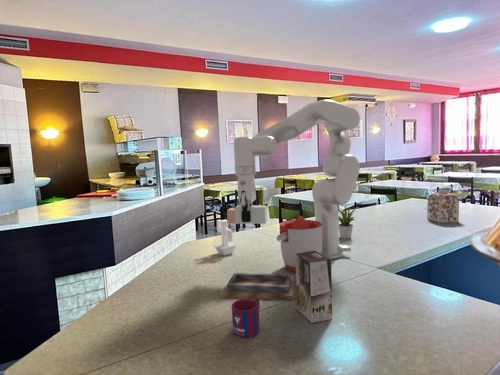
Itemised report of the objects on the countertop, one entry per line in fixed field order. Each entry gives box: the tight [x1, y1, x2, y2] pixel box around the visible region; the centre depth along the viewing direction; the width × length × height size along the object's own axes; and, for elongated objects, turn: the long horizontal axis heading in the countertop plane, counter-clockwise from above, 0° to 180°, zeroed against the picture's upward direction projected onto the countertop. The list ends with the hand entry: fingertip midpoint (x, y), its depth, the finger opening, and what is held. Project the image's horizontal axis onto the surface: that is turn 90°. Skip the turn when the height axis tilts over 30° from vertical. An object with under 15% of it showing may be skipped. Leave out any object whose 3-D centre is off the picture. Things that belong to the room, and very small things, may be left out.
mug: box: [231, 298, 261, 339], centre depth 85 cm, size 7×10×7 cm
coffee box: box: [295, 251, 333, 324], centre depth 90 cm, size 9×6×16 cm
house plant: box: [337, 205, 360, 239], centre depth 167 cm, size 14×14×16 cm
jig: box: [221, 272, 296, 301], centre depth 109 cm, size 22×14×3 cm, turn 80°
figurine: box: [213, 219, 237, 256], centre depth 148 cm, size 7×9×15 cm
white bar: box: [226, 204, 268, 225], centre depth 124 cm, size 14×4×6 cm, turn 79°
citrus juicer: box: [276, 215, 322, 273], centre depth 125 cm, size 16×17×20 cm
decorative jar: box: [426, 189, 460, 224], centre depth 193 cm, size 12×12×18 cm
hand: (247, 219), depth 124 cm, fingers closed on white bar, 4 cm apart
